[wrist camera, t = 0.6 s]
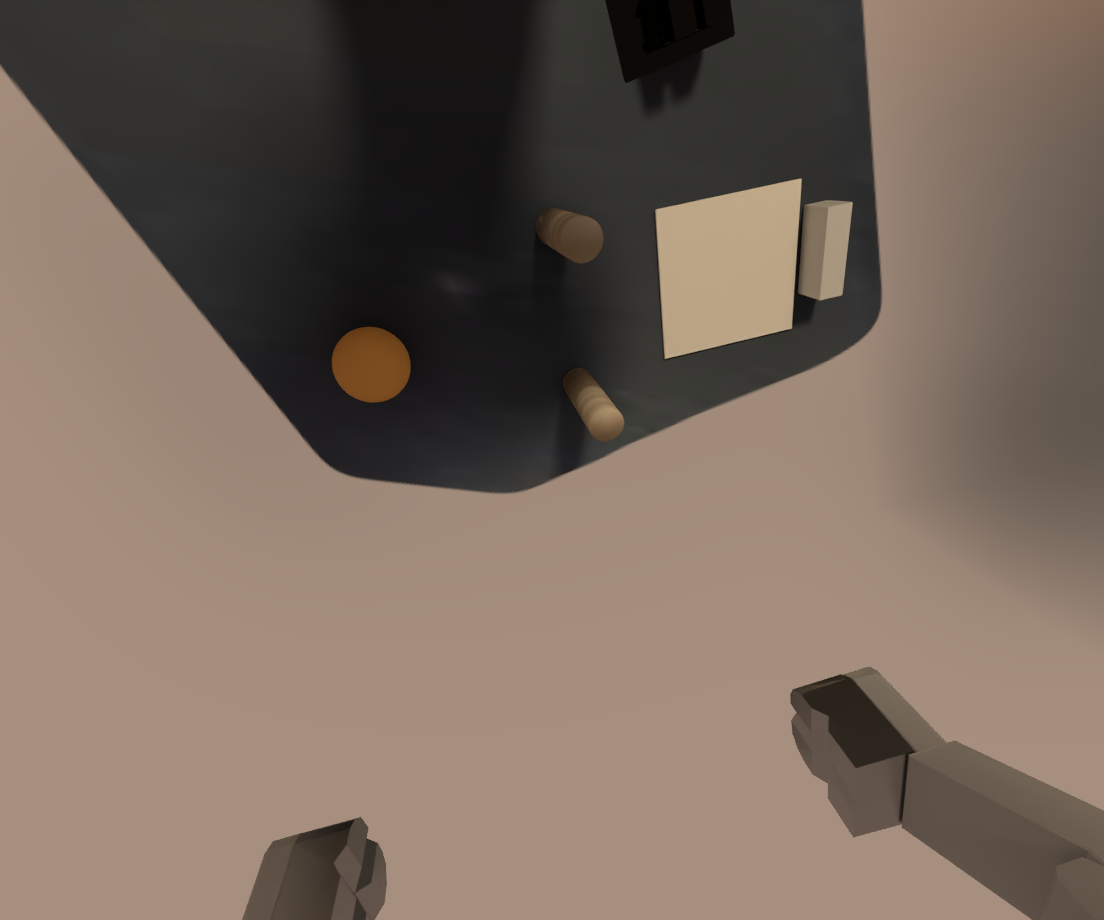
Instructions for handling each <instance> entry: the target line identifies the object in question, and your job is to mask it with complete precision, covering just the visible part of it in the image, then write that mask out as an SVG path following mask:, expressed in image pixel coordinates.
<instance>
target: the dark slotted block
mask: <svg viewBox="0 0 1104 920" xmlns="http://www.w3.org/2000/svg"><path fill="white" fill-rule="evenodd" d="M605 1H606V5H607V9H608V14H609V18H610V22H611V26H612V30H613V35H614V39H615V43H616V47H617V52H618V56H619V60H620V64H621V69H622V73H623V77H624V81H625V82H626V83H627V82H630V81H632V80H634V79H637V78H639V77H641V76H643V75H646V74H648V73H650V72H653V71H655V70H657V69H659V68H662V67H664V66H666V65H669V64H671V63H673V62H675V61H678V60H680V59H682V58H685V57H687V56H689V55H691V54H694V53H696V52H698V51H701V50H703V49H705V48H707V47H710V46H712V45H714V44H717V43H719V42H721V41H723V40H726V39H728V38H730V37H733V36H734V34H735V32H734V24H733V17H732V9H731V1H730V0H605Z"/></svg>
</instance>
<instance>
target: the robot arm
mask: <svg viewBox="0 0 1104 920" xmlns="http://www.w3.org/2000/svg"><path fill="white" fill-rule="evenodd" d="M791 704H792V706H793V708H794V709H795V710H796V712H797V713H796V714H795V716H794V717H793V719H792V720H791V721H792V731H793V736H794V739H795V742H796V745H797V748H798V750H799V752H800V754H801V756H802V758H803V760H804V761H805V763H806V765H807V766H808V768H809V769H810V771H811V772H812V774H813V775H815V776H817V777H818V778H820V779H821V780H823V781H825V782H826V783H828V799H829V800H830V802H831V804H832V805H833V807H834V808H835V810H836V811H837V812H838V814H839V816H840V817H841V819H842V820H843V822H844V824H845V825H846V827H847V828H848V829H849V831H850V832H851V834H852V836H853V837H856V836H860V835H864V834H867V833H871V832H874V831H878V830H882V829H886V828H889V827H893V826H896V825H900V824H902V828H903V829H905V830H906V831H908V832H909V833H910V834H912V835H913V836H915V837H916V838H917V839H919V840H920V841H922V842H924V843H925V844H926V845H928V846H929V847H930V848H932V849H933V850H934V851H936V852H937V853H939V854H940V855H942V856H943V857H944V858H946V859H948V860H949V861H950V862H952V863H953V864H954V865H956V866H957V867H958V868H960V869H961V870H963V871H964V872H966V873H967V874H968V875H970V876H971V877H973V878H974V879H975V880H977V881H978V882H980V883H981V884H983V885H984V886H986V887H987V888H988V889H990V890H991V891H992V892H994V893H996V894H997V895H998V896H1000V897H1001V898H1002V899H1004V900H1006V901H1007V902H1008V903H1009V904H1011V905H1012V906H1014V907H1015V908H1017V909H1018V910H1019V911H1021V912H1022V913H1024V914H1025V915H1027V916H1028V917H1029V918H1031V919H1032V920H1104V811H1103V810H1101V809H1099V808H1097V807H1095V806H1093V805H1090V804H1088V803H1086V802H1084V801H1082V800H1080V799H1078V798H1076V797H1073V796H1071V795H1069V794H1067V793H1065V792H1063V791H1061V790H1058V789H1057V788H1054V787H1052V786H1050V785H1048V784H1046V783H1044V782H1042V781H1039V780H1037V779H1035V778H1033V777H1031V776H1029V775H1027V774H1025V773H1023V772H1020V771H1018V770H1016V769H1014V768H1012V767H1010V766H1007V765H1006V764H1003V763H1001V762H999V761H997V760H995V759H993V758H991V757H989V756H986V755H984V754H982V753H980V752H978V751H976V750H974V749H972V748H969V747H967V746H965V745H963V744H961V743H959V742H957V741H952V742H948V743H947V742H946V741H945V740H944V739H943V738H941V736H940V735H939V734H938V733H937V732H936V731H935V730H934V729H933V728H932V727H931V726H930V725H929V724H928V723H927V722H926V721H925V720H924V719H923V718H922V717H921V716H920V715H919V713H918V712H917V711H916V710H915V709H914V708H913V707H912V706H911V705H909V703H908V702H907V701H906V700H905V699H904V698H903V697H902V696H901V695H900V694H899V693H898V692H897V691H896V690H895V689H894V688H893V687H892V685H891V684H889V682H888V681H887V680H886V679H885V678H884V677H883V676H882V675H881V674H880V673H879V672H878V671H877V670H875V669H873V668H871V667H867V668H863V669H860V670H857V671H854V672H851V673H848V674H844V675H838V676H834V677H831V678H828V679H825V680H822V681H818V682H815V683H812V684H809V685H805V686H803V687H799V688H796V689H793V690H792V692H791ZM367 833H368V827H367V825H366V824H365V822H364V821H363V819H362V818H361V817H359V818H356V819H352V820H348V821H345V822H341V823H338V824H334V825H331V826H327V827H323V828H319V829H316V830H312V831H308V832H305V833H300V834H297V835H293V836H290V837H286V838H283V839H280V840H276V841H273V842H272V844H271V845H270V847H269V848H268V850H267V851H266V853H265V854H264V858H263V860H262V863H261V866H260V869H259V872H258V875H257V878H256V881H255V884H254V887H253V890H252V893H251V896H250V899H249V902H248V904H247V907H246V910H245V913H244V916H243V919H242V920H375V918H376V916H377V915H378V913H379V911H380V910H381V908H382V906H383V905H384V902H385V893H386V884H387V881H386V863H385V859H384V856H383V852H382V850H381V848H380V846H379V845H378V843H377V842H374V841H372V840H369V839H367Z"/></svg>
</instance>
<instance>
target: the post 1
mask: <svg viewBox="0 0 1104 920" xmlns="http://www.w3.org/2000/svg"><path fill="white" fill-rule="evenodd" d="M536 232H537V235H538V237H539V239H540V240H541V241H542V242H543V243H544V244H546V245H548V246H549V247H551V248H552V249H554V250H556V251H557V252H559V253H560V254H562V255H564V256H565V257H567V258H568V259H570V260H572V261H574V262H576V263H586V262H589V261H591V260H593V259H594V258H595V257H596V256H597V255H598V254H599V252H600V250H601V248H602V245H603V232H602V229H601V227H600V225H599V224H598V223H597V222H596V221H595V220H594V219H592V218H590V217H587V216H583V215H579V214H576V213H572V212H568V211H565V210H561V209H557V208H549V209H546V210H545V211H543V212H542V213H541V214H540V215H539V217H538V219H537V222H536Z"/></svg>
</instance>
